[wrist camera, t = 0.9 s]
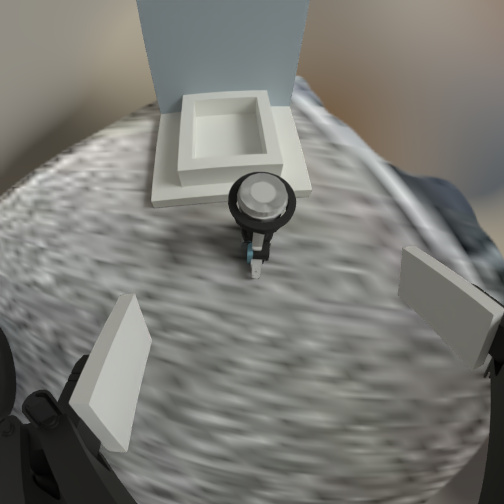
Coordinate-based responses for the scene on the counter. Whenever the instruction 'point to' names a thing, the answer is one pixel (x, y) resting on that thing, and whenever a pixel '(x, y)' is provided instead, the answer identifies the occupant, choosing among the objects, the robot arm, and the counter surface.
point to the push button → (260, 212)
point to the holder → (223, 94)
